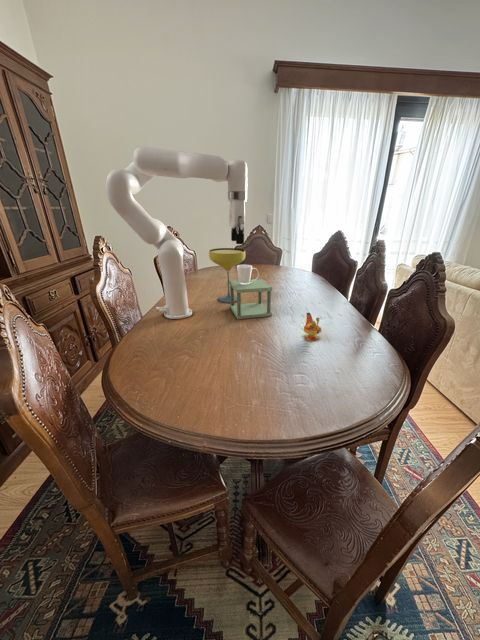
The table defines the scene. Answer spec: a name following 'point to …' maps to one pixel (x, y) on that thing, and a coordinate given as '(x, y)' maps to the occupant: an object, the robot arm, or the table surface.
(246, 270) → the cup
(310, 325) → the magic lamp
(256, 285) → the shelf
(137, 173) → the robot arm
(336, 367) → the table surface
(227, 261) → the cocktail glass
